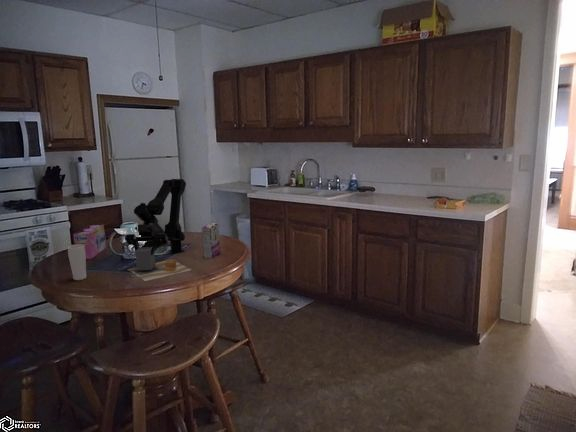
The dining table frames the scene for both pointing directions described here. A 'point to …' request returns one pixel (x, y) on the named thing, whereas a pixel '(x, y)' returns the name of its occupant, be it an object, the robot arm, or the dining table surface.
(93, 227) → the gum box
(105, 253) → the dining table surface
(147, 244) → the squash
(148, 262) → the charcoal cover
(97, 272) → the dining table surface
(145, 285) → the dining table surface
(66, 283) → the dining table surface
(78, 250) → the drinking glass
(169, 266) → the orange block
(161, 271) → the birch board
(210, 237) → the candy bar box
